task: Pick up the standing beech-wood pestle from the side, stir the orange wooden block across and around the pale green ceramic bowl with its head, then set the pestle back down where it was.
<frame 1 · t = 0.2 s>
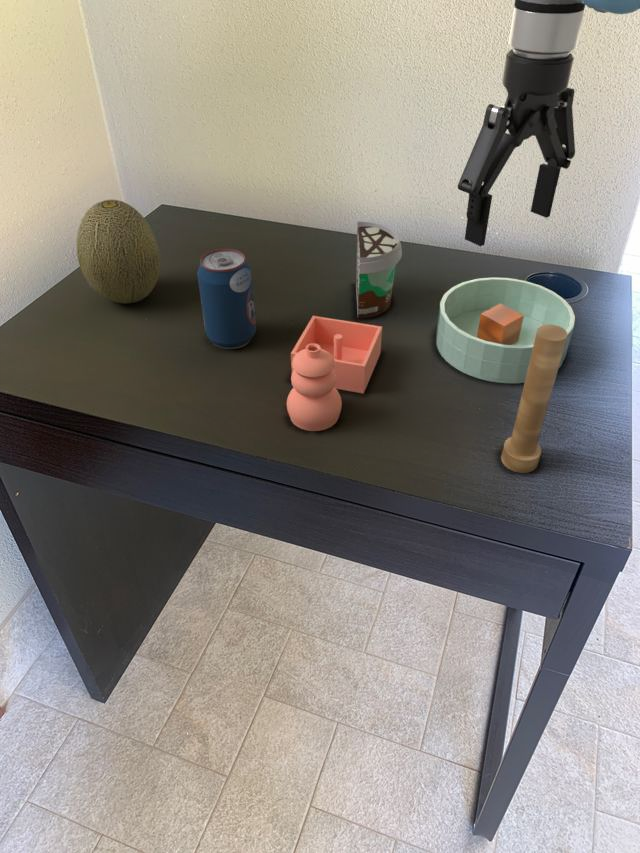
hand: (508, 227, 92), 13 cm above the table, tool pointing down, fingers open, 13 cm apart
pestle: (519, 460, 76), on the table
bowl: (499, 344, 93), on the table
fruit: (128, 299, 103), on the table
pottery: (327, 387, 86), on the table
block: (497, 339, 93), point 1 cm above the table, touching bowl
food container: (377, 302, 102), on the table
soda can: (231, 338, 95), on the table
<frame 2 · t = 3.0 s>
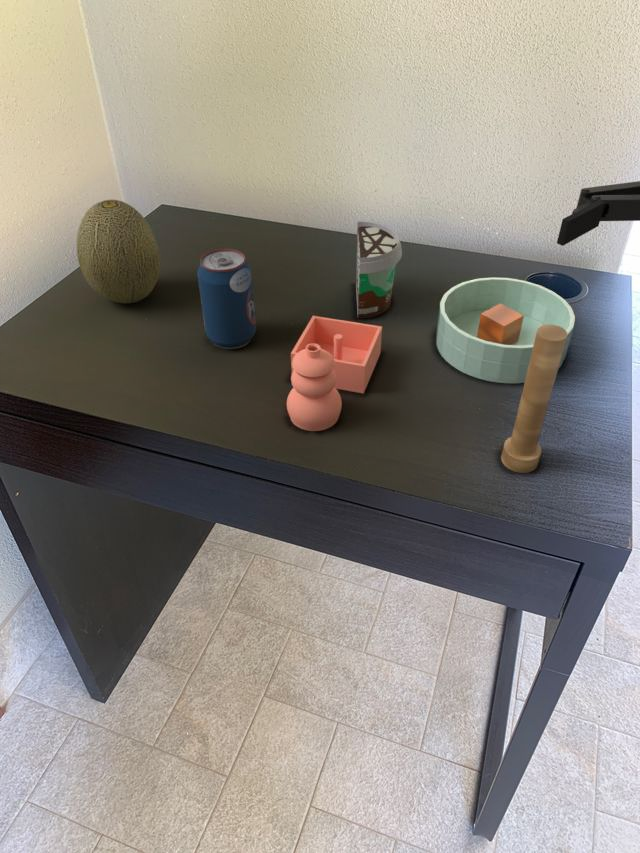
hand: (621, 257, 66), 22 cm above the table, tool horizontal, fingers open, 13 cm apart
nothing on the table moved.
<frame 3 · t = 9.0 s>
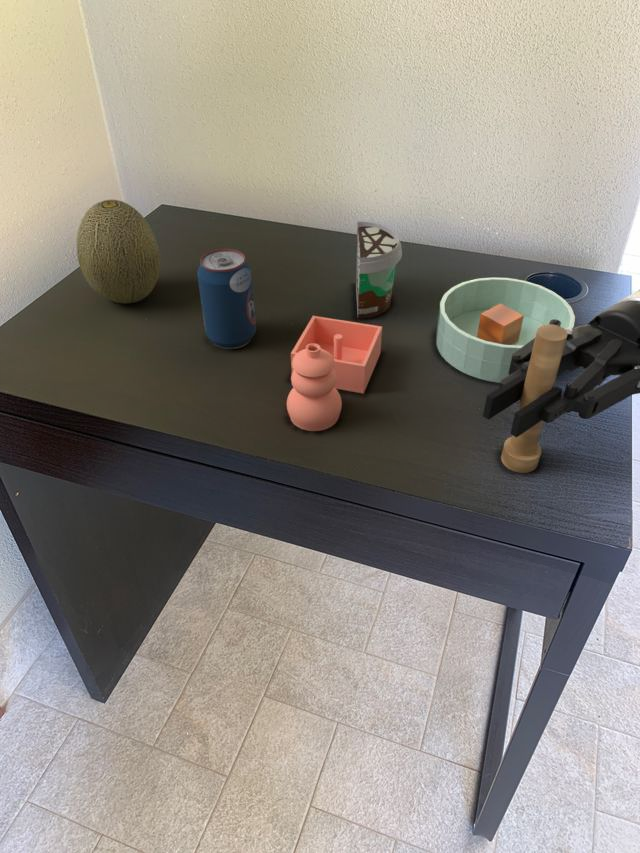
hand: (501, 416, 67), 10 cm above the table, tool horizontal, fingers closed on pestle, 3 cm apart
pestle: (519, 460, 76), on the table, touching gripper
everything else where it was.
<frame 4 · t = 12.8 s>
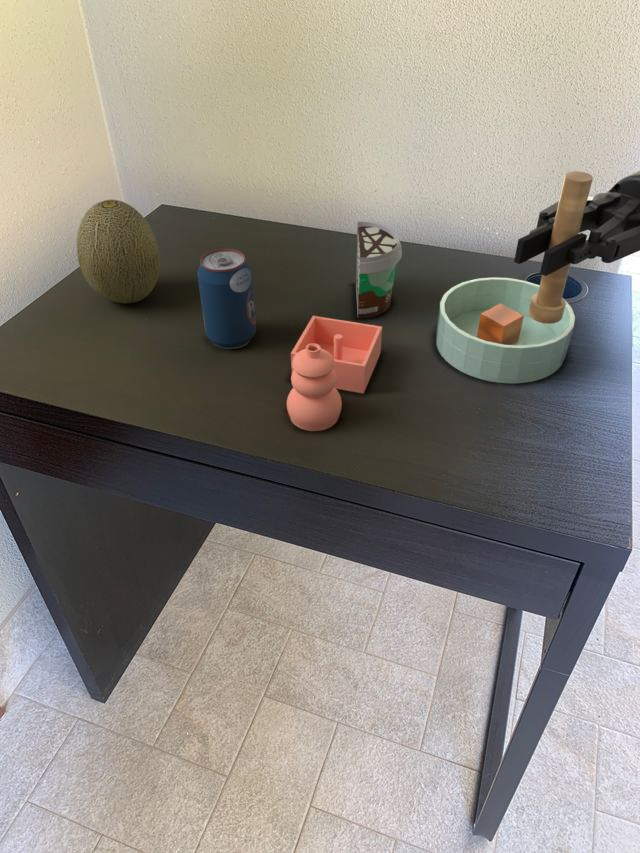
hand: (532, 257, 74), 18 cm above the table, tool horizontal, fingers closed on pestle, 3 cm apart
pestle: (545, 314, 83), point 8 cm above the table, touching gripper
everything else where it was.
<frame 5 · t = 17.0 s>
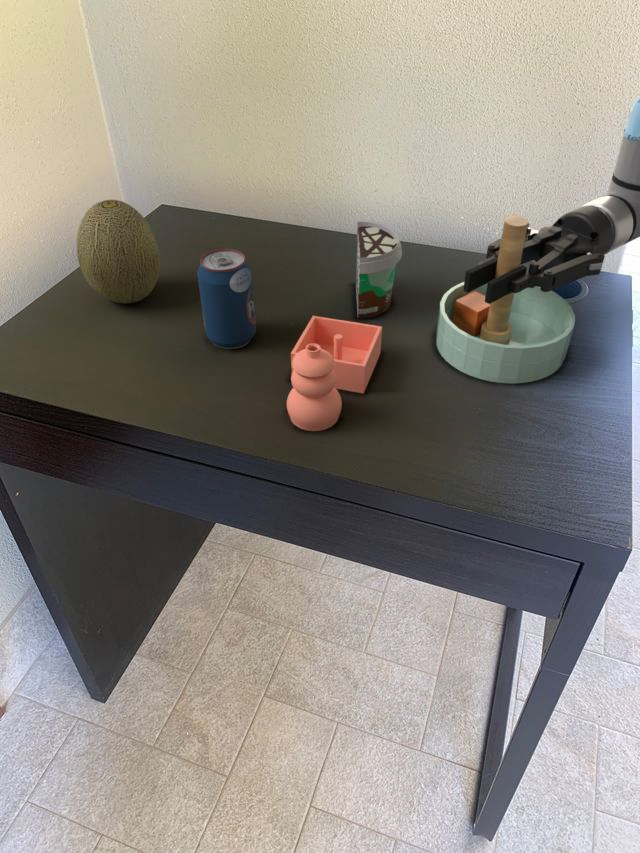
hand: (477, 287, 84), 11 cm above the table, tool horizontal, fingers closed on pestle, 3 cm apart
pestle: (494, 338, 93), point 1 cm above the table, touching bowl, gripper
block: (472, 326, 95), point 1 cm above the table, touching bowl
everything else where it was.
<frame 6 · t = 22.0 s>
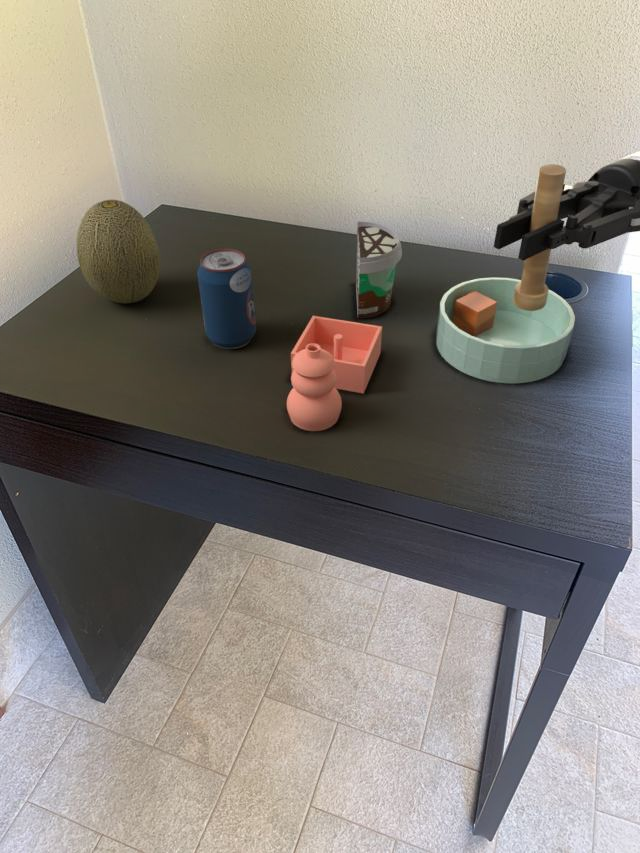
hand: (510, 242, 76), 18 cm above the table, tool horizontal, fingers closed on pestle, 3 cm apart
pestle: (529, 302, 86), point 8 cm above the table, touching gripper
everything else where it was.
when the fingers open (10 cm above the table, at t = 25.7 s): pestle moves 3 cm and tips over, point 2 cm above the table.
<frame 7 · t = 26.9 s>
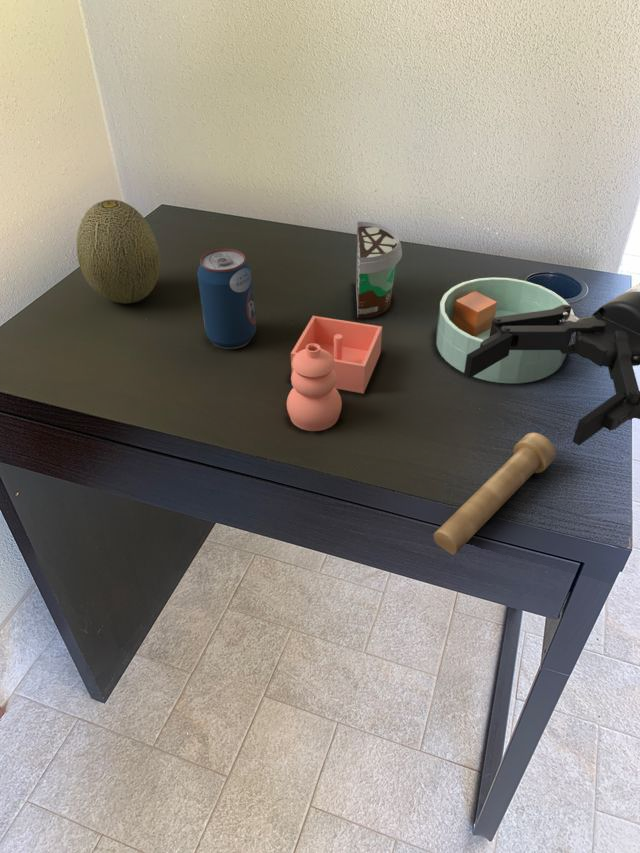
hand: (520, 398, 68), 11 cm above the table, tool horizontal, fingers open, 13 cm apart
pestle: (539, 447, 74), point 2 cm above the table, tilted 94°
everything else where it was.
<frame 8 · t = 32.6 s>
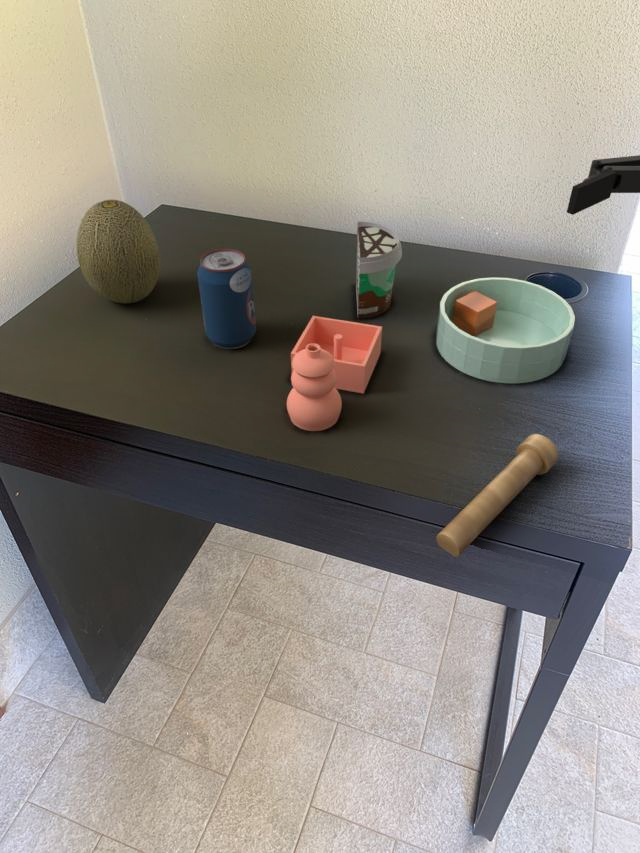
hand: (634, 223, 64), 25 cm above the table, tool horizontal, fingers open, 13 cm apart
nothing on the table moved.
at the end: block moved 4.4 cm from its start; block inside the target area in the bowl (4.9 cm from its centre), point 0.6 cm above the bowl's base; the gripper is holding nothing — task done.
